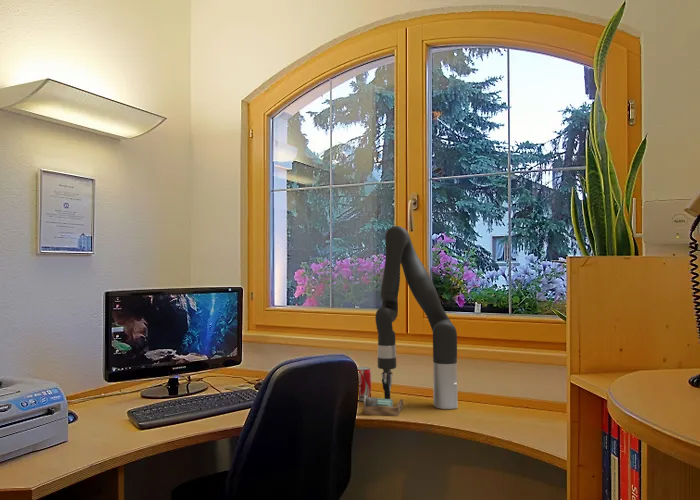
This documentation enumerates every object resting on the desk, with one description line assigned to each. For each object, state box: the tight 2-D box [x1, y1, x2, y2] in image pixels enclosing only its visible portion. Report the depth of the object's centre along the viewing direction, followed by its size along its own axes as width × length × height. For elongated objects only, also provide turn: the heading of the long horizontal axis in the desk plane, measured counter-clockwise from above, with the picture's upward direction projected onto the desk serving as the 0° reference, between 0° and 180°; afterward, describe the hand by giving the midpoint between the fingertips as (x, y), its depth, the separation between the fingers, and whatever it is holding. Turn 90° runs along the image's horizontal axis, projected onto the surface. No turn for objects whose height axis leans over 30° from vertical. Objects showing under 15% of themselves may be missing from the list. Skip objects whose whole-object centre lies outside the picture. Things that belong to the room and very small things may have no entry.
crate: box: [376, 397, 394, 407], centre depth 209 cm, size 8×8×4 cm
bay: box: [360, 395, 404, 417], centre depth 209 cm, size 14×17×7 cm
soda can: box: [357, 366, 372, 402], centre depth 227 cm, size 7×7×13 cm
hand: (387, 399), depth 219 cm, fingers closed
